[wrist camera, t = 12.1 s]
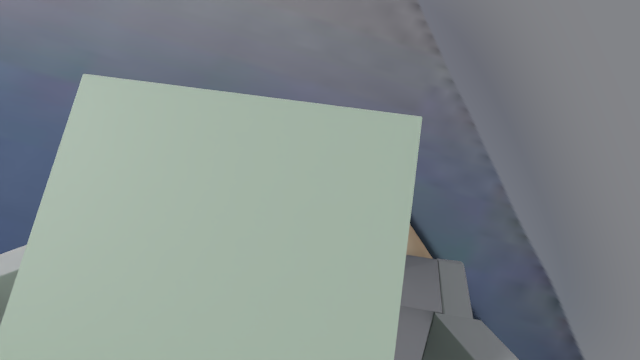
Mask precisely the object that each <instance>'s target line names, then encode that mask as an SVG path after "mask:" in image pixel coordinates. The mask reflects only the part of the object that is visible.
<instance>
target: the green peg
mask: <svg viewBox="0 0 640 360" xmlns="http://www.w3.org/2000/svg"><path fill="white" fill-rule="evenodd" d="M421 123H422V117H420V116H412V115H404V114H396V113H388V112H380V111H373V110H365V109H357V108H349V107H341V106H333V105H325V104H317V103H310V102H302V101H294V100H286V99H278V98H270V97H262V96H254V95H246V94H239V93H231V92H223V91H215V90H207V89H199V88H191V87H183V86H176V85H168V84H160V83H152V82H144V81H136V80H128V79H120V78H113V77H105V76H97V75H89V74H83V76H82V79H81V82H80V85H79V88H78V91H77V94H76V97H75V100H74V104H73V107H72V110H71V113H70V116H69V119H68V122H67V125H66V128H65V131H64V134H63V137H62V140H61V143H60V146H59V149H58V152H57V155H56V158H55V161H54V164H53V167H52V170H51V173H50V176H49V179H48V182H47V185H46V188H45V191H44V194H43V197H42V201H41V204H40V207H39V210H38V213H37V216H36V219H35V222H34V225H33V228H32V231H31V234H30V237H29V240H28V243H27V246H26V249H25V252H24V255H23V258H22V261H21V264H20V267H19V270H18V273H17V276H16V279H15V282H14V285H13V288H12V291H11V294H10V298H9V301H8V304H7V307H6V310H5V313H4V316H3V319H2V322H1V325H0V360H394V355H395V346H396V338H397V329H398V321H399V312H400V304H401V295H402V286H403V278H404V269H405V261H406V252H407V243H408V235H409V226H410V218H411V209H412V200H413V192H414V183H415V175H416V166H417V157H418V149H419V140H420V132H421Z"/></svg>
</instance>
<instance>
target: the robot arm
mask: <svg viewBox="0 0 640 360" xmlns="http://www.w3.org/2000/svg"><path fill="white" fill-rule="evenodd" d="M26 246H27V245H25V246H23V247H20V248H17V249H14V250H11V251H8V252H5V253H3V254H0V325H1V322H2V319H3V316H4V313H5V310H6V307H7V304H8V301H9V298H10V294H11V291H12V288H13V285H14V282H15V279H16V276H17V273H18V270H19V267H20V264H21V261H22V258H23V255H24V252H25V249H26ZM394 360H519V359H518V358H517V357H516V356H515V355H514V354H513V353H512V352H511V351H510V350H509V349H508V348H507V347H506V346H505V345H504V344H503V343H502V342H501V341H500V340H499V339H498V338H497V337H496V336H495V335H494V334H493V332H492V331H491V330H490V329H489V328H488V327H487V326H486V325H485V324H484V323H483V322H482V321H481V320H476V319H473V315H472V309H471V303H470V297H469V292H468V286H467V280H466V274H465V269H464V264H463V263H462V262H460V261H452V260H445V259H431V258H424V257H418V256H411V255H406V261H405V269H404V278H403V286H402V295H401V304H400V312H399V321H398V329H397V338H396V346H395V355H394Z"/></svg>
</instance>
